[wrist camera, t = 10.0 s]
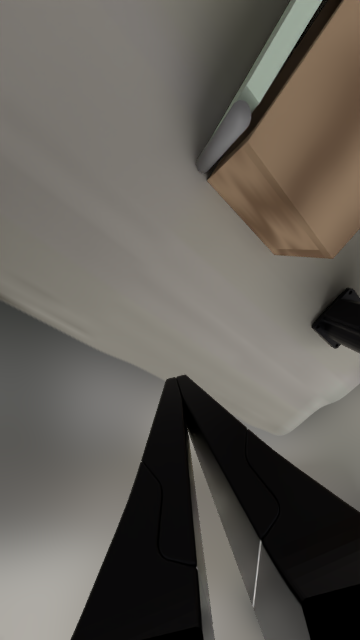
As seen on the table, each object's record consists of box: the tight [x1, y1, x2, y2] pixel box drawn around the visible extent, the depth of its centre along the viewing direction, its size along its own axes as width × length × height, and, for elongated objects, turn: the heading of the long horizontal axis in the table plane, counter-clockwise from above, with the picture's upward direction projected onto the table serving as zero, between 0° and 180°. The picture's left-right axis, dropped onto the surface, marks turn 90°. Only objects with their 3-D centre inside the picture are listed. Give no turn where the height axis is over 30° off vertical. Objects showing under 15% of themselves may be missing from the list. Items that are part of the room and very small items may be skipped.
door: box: [196, 0, 322, 173], centre depth 10 cm, size 2×15×6 cm, turn 146°
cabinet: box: [207, 0, 360, 259], centre depth 13 cm, size 10×15×6 cm, turn 143°
